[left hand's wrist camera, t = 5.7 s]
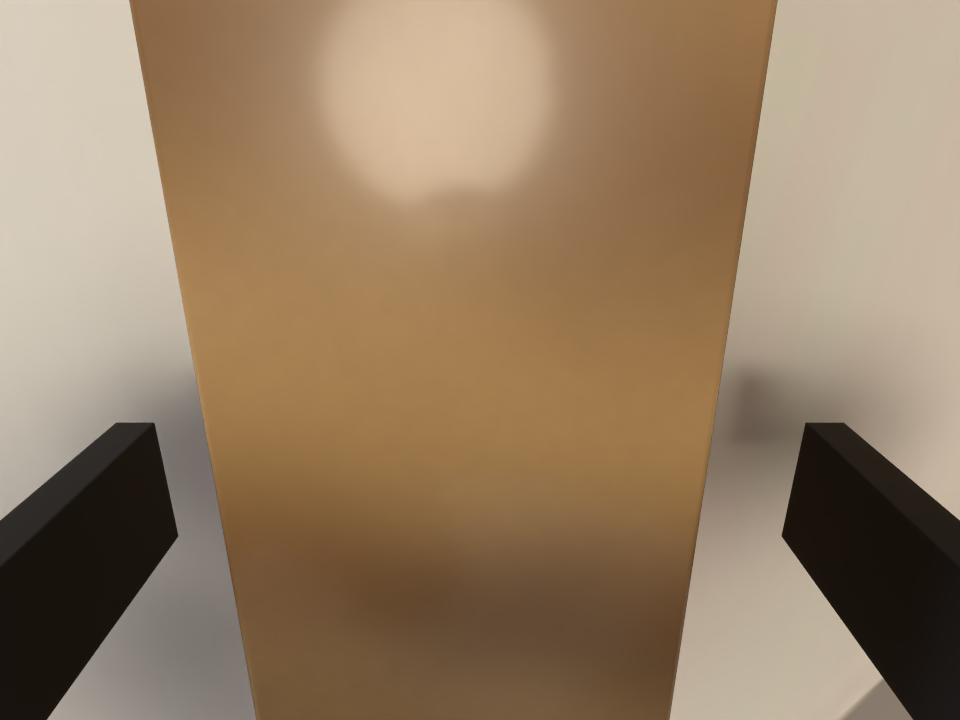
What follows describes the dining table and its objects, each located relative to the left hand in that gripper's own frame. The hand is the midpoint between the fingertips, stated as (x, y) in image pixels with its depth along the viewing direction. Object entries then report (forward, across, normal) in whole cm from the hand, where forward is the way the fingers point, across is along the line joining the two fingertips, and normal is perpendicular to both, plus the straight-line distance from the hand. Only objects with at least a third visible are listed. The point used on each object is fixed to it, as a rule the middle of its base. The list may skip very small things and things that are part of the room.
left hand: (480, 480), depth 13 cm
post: (+4, 0, -19) cm, 19 cm away
